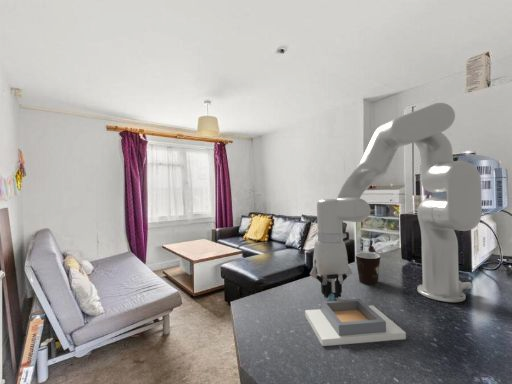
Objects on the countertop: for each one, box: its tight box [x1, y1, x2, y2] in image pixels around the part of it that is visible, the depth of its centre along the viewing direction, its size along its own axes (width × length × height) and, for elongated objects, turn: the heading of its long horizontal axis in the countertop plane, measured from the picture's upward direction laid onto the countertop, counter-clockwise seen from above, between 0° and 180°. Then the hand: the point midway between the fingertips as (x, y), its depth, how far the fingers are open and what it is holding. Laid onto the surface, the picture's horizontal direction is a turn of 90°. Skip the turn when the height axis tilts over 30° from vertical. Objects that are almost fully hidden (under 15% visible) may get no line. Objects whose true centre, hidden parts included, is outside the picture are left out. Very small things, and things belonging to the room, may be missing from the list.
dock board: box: [304, 298, 407, 347], centre depth 64 cm, size 20×14×4 cm
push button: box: [322, 274, 340, 301], centre depth 79 cm, size 7×5×10 cm
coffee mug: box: [354, 252, 381, 286], centre depth 94 cm, size 12×9×10 cm
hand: (331, 295), depth 79 cm, fingers closed on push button, 3 cm apart
